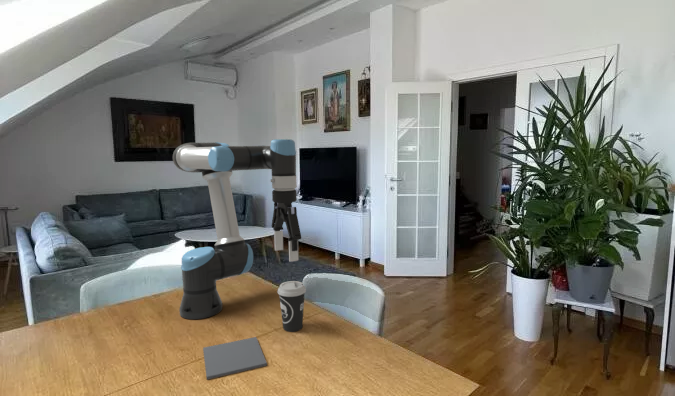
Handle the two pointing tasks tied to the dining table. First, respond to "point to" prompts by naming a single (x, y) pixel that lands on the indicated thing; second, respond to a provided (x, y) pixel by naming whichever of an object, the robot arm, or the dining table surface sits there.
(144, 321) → the dining table surface
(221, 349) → the mat
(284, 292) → the coffee cup
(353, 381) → the dining table surface
